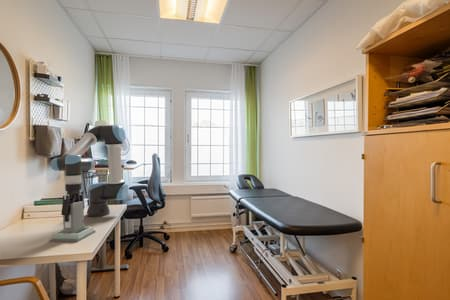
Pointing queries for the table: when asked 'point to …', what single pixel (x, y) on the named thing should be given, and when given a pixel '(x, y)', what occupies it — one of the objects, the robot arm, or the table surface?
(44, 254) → the table surface
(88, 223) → the table surface
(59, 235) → the tray
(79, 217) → the skincare box
